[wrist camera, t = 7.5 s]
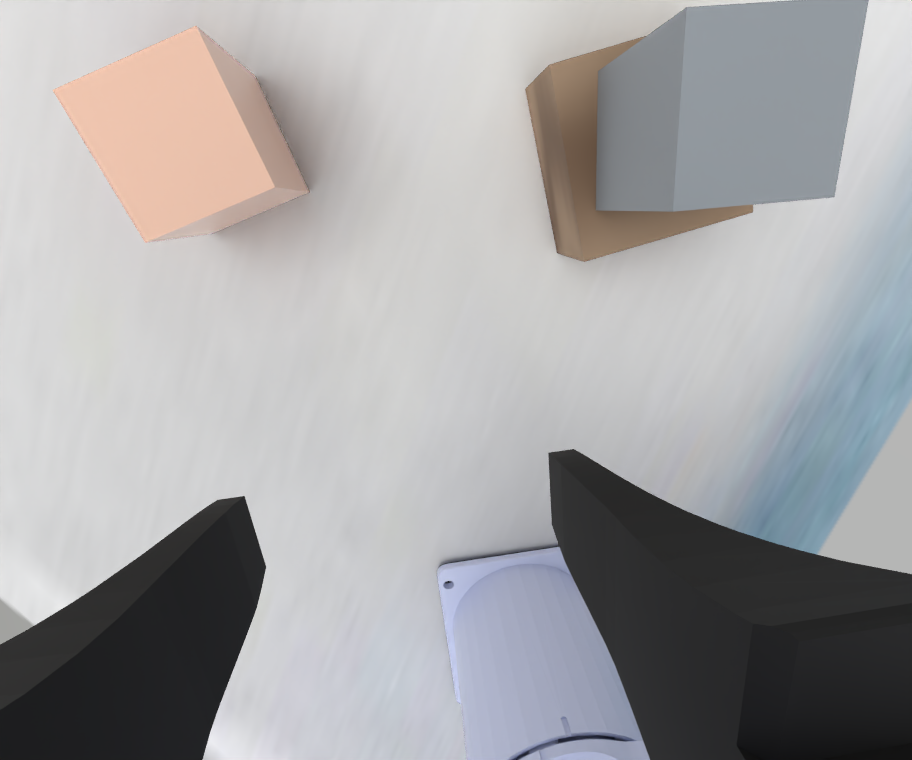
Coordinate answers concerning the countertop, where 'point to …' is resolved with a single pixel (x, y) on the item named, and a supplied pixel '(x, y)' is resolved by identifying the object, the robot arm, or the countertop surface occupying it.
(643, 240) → the walnut block
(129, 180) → the terracotta block
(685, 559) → the robot arm
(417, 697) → the countertop surface
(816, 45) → the slate block
